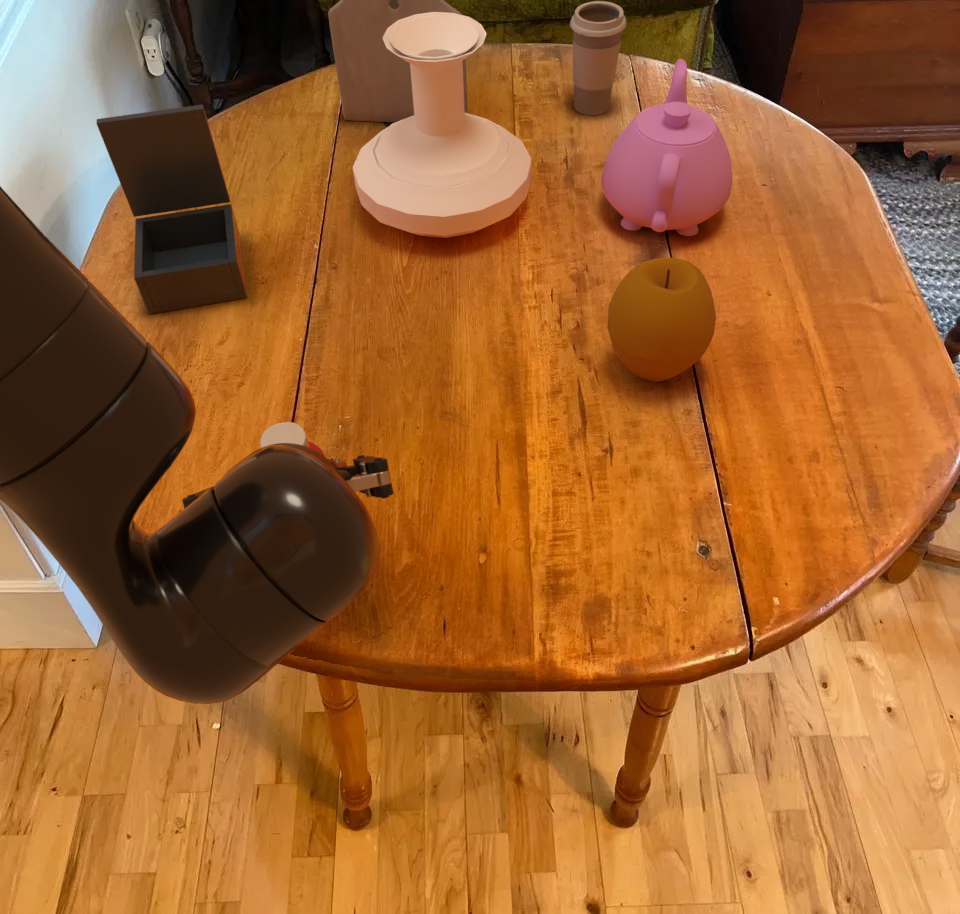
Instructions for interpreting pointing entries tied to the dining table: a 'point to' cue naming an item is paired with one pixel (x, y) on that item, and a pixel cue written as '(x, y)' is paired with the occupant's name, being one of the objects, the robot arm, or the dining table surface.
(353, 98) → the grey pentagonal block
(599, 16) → the cup
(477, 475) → the dining table surface
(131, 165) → the box lid
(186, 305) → the box
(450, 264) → the dining table surface
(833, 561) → the dining table surface
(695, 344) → the apple
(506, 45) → the dining table surface
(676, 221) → the teapot
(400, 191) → the candle holder
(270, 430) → the sauce bottle
